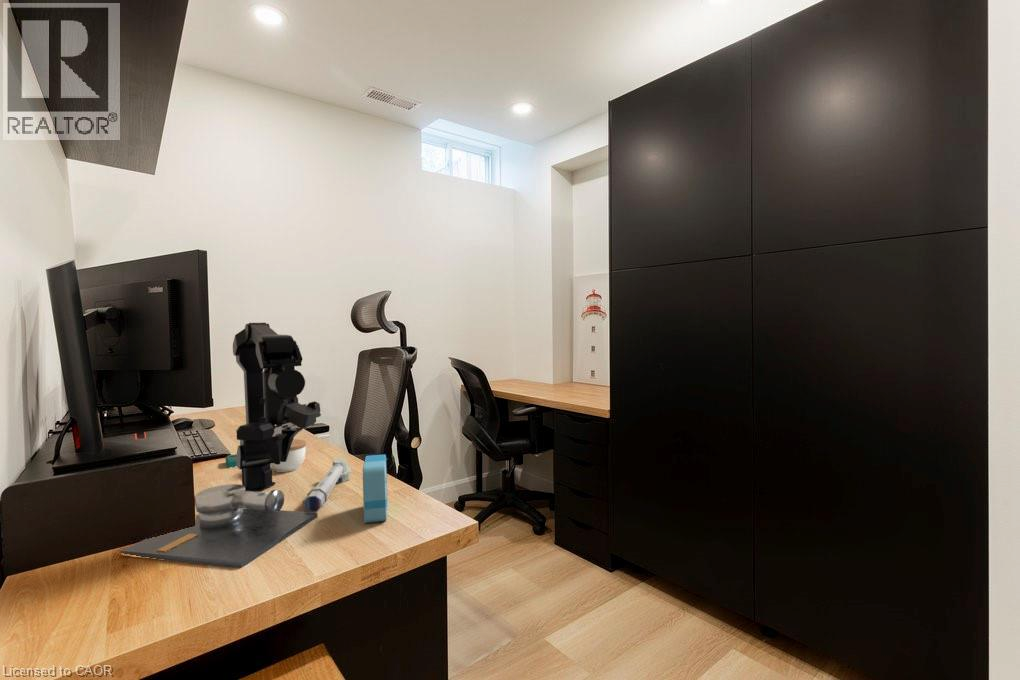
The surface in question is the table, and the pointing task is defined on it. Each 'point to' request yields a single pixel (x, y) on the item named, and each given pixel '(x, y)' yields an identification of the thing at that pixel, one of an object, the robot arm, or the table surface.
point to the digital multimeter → (231, 461)
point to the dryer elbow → (237, 499)
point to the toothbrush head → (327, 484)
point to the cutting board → (224, 537)
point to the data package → (375, 488)
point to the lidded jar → (292, 457)
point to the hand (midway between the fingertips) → (280, 463)
